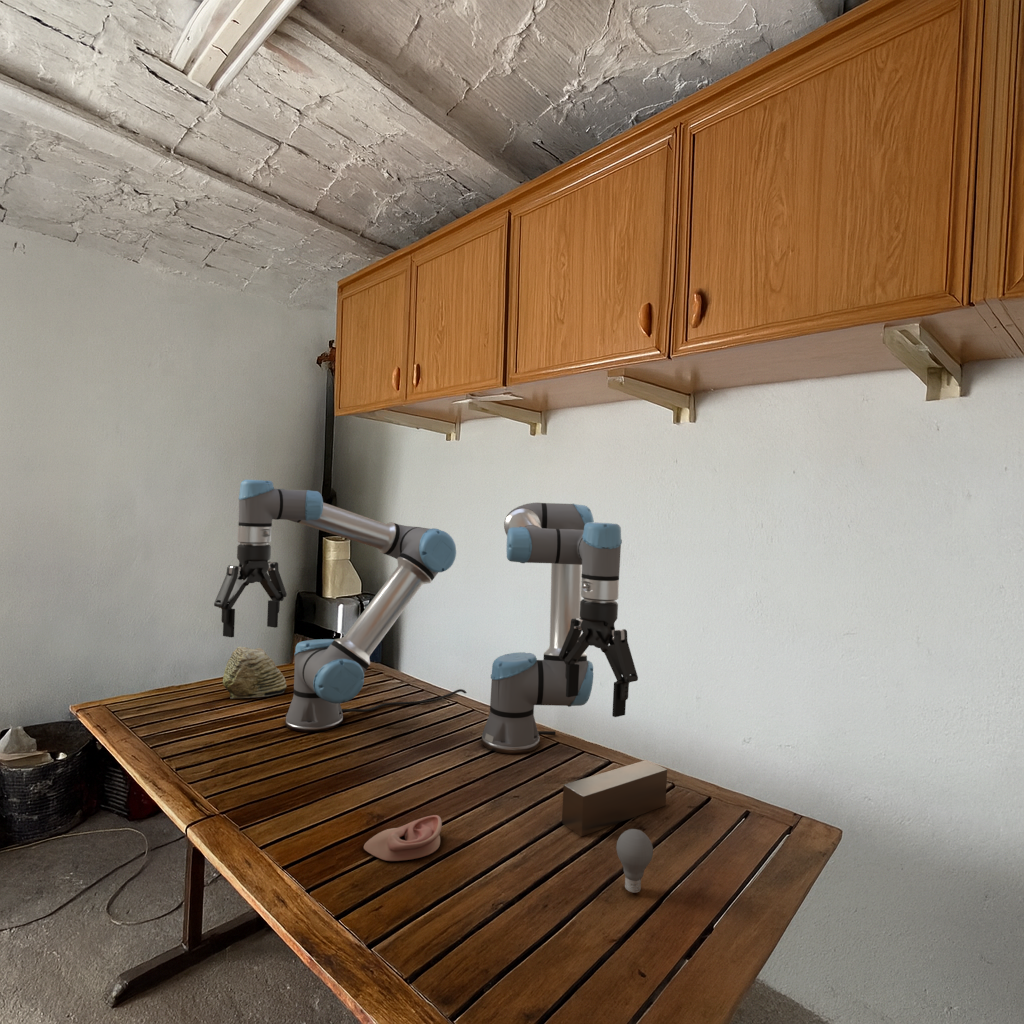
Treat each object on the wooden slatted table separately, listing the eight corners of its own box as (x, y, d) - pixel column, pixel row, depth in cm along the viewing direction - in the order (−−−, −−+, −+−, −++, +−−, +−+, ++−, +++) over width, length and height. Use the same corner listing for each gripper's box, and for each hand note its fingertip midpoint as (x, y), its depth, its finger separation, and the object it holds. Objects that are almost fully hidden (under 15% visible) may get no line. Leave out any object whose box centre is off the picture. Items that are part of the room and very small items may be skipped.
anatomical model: (356, 833, 112) (382, 804, 123) (355, 856, 112) (381, 824, 123) (428, 845, 109) (448, 813, 121) (427, 868, 109) (447, 834, 121)
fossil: (218, 695, 195) (220, 647, 195) (278, 685, 208) (279, 640, 207) (228, 703, 189) (230, 653, 188) (289, 692, 201) (290, 645, 201)
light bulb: (610, 879, 108) (613, 822, 108) (644, 879, 109) (647, 822, 109) (619, 902, 102) (622, 840, 102) (655, 901, 103) (658, 840, 103)
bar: (645, 794, 141) (646, 759, 141) (665, 805, 137) (667, 769, 136) (561, 823, 127) (563, 784, 127) (581, 836, 122) (583, 796, 122)
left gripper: (223, 547, 140) (220, 643, 140) (303, 542, 163) (299, 624, 163) (199, 545, 143) (195, 638, 143) (280, 540, 166) (277, 621, 166)
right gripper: (545, 591, 134) (540, 691, 135) (632, 611, 114) (626, 728, 115) (572, 590, 139) (567, 686, 139) (660, 608, 119) (654, 721, 119)
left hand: (251, 631), depth 153 cm, fingers open, 13 cm apart
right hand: (594, 705), depth 127 cm, fingers open, 13 cm apart
